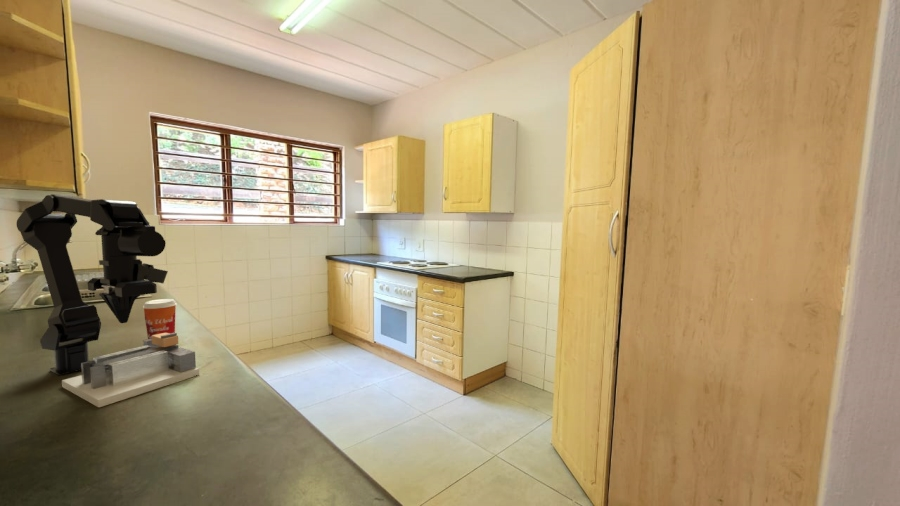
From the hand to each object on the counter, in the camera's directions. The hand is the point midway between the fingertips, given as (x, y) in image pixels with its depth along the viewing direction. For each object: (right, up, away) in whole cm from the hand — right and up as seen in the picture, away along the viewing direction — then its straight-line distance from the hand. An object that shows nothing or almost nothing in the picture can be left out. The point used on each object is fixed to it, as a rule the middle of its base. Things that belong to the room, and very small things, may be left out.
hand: (123, 322), depth 83 cm
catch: (+5, -6, +6) cm, 10 cm away
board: (+3, -13, -1) cm, 13 cm away
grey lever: (+3, -8, 0) cm, 9 cm away
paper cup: (-8, -12, +21) cm, 25 cm away
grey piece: (+3, -12, 0) cm, 12 cm away
